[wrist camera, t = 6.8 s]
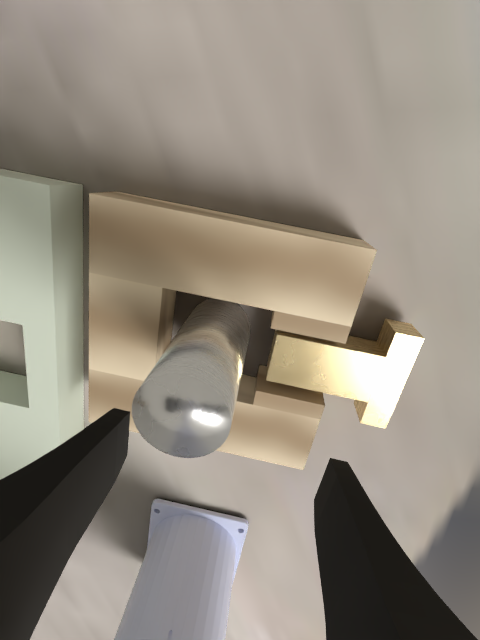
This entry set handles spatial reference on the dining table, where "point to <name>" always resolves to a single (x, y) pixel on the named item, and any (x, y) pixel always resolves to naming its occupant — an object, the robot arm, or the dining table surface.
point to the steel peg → (195, 382)
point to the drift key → (349, 367)
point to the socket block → (219, 283)
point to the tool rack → (41, 315)
